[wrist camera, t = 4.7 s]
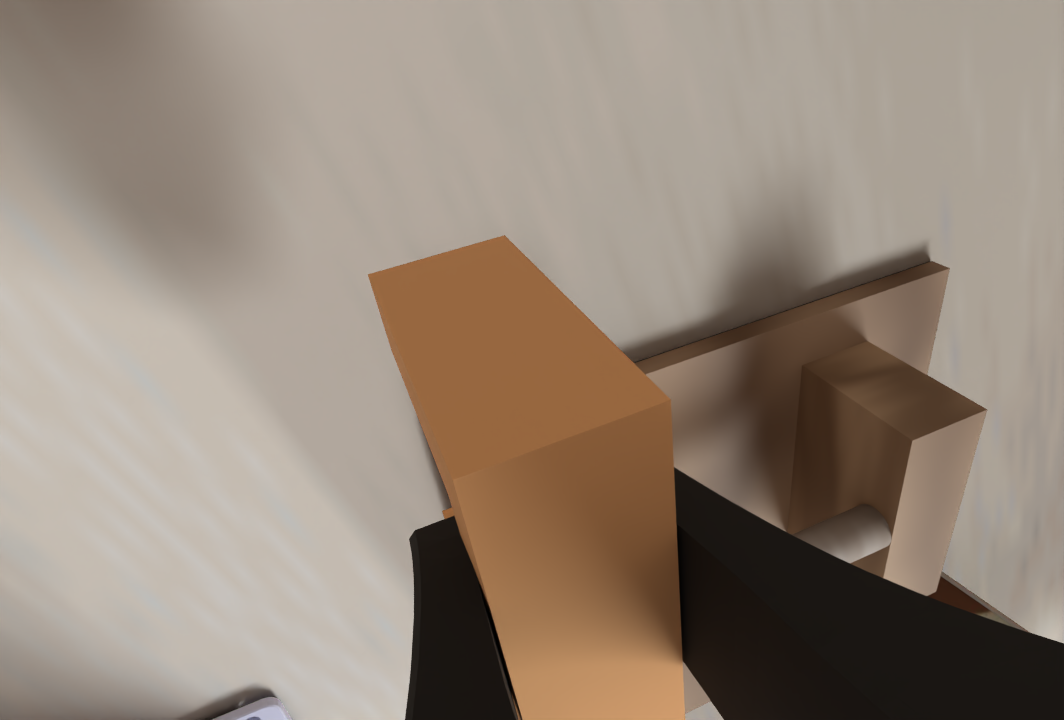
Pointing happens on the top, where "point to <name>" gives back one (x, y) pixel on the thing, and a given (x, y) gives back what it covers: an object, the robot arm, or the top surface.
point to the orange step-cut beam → (547, 480)
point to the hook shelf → (765, 379)
